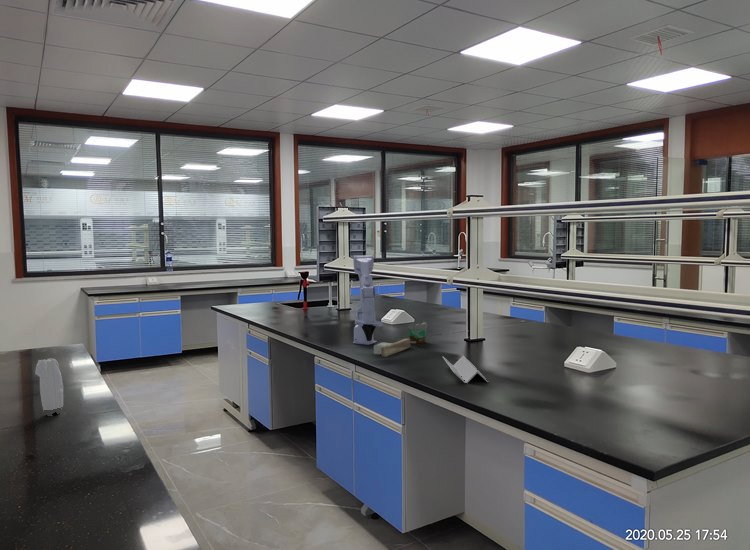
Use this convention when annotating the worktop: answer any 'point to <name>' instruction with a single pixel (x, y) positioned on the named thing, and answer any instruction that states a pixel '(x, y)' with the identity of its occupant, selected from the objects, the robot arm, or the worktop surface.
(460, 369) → the z bracket
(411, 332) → the food container
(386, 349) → the birch board
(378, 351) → the sage block
